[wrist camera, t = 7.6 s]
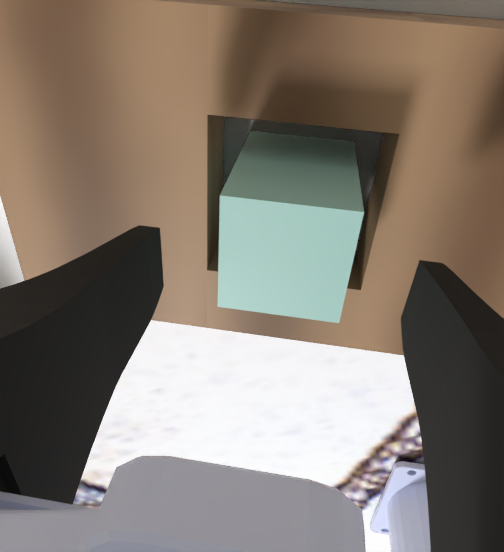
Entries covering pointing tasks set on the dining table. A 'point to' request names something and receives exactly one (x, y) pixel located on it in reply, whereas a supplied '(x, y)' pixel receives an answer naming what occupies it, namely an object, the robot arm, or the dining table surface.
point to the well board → (262, 106)
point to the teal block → (289, 226)
